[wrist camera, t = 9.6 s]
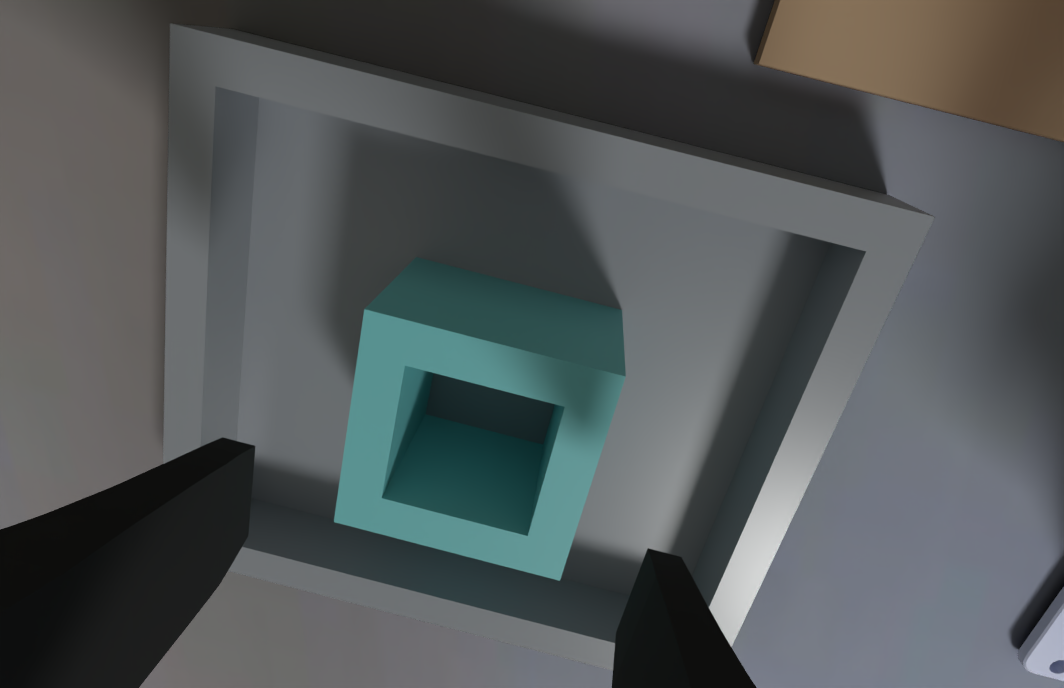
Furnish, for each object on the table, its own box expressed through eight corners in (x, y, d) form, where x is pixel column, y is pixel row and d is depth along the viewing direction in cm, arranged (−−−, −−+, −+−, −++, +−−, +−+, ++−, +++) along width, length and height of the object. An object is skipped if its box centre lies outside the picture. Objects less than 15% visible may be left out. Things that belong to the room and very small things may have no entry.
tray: (888, 195, 16) (935, 216, 14) (697, 628, 22) (708, 695, 19) (232, 28, 16) (170, 23, 14) (209, 501, 22) (161, 553, 19)
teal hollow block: (621, 310, 17) (625, 376, 14) (557, 521, 20) (545, 625, 16) (416, 257, 17) (364, 309, 14) (378, 475, 20) (327, 568, 16)
